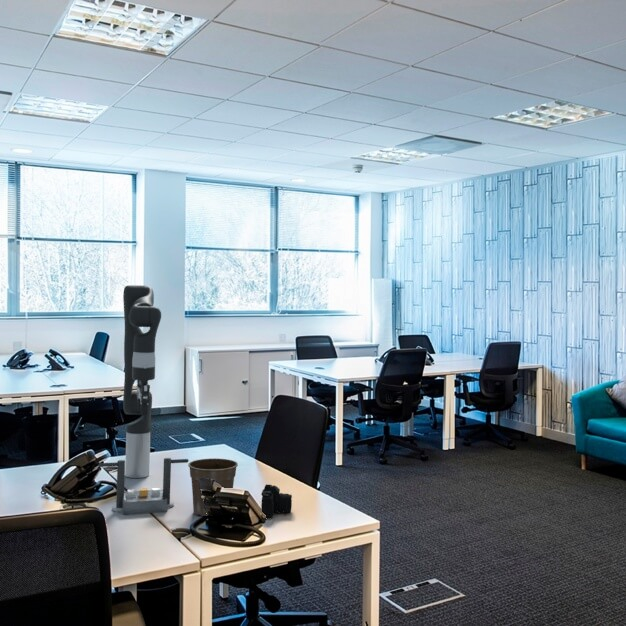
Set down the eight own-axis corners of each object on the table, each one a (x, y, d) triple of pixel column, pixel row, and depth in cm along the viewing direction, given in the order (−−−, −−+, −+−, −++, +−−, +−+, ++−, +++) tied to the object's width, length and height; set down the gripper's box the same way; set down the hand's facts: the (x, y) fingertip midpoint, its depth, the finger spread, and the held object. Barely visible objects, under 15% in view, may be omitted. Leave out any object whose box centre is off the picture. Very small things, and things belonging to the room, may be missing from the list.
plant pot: (182, 506, 226) (183, 459, 226) (229, 502, 232) (230, 456, 232) (192, 522, 211) (194, 471, 210) (242, 517, 217) (243, 467, 216)
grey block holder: (120, 503, 227) (120, 486, 226) (162, 500, 231) (162, 483, 231) (122, 514, 215) (123, 496, 215) (167, 511, 220) (167, 493, 220)
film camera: (288, 521, 215) (289, 493, 215) (258, 519, 216) (259, 491, 215) (292, 506, 230) (293, 480, 230) (264, 505, 231) (265, 479, 231)
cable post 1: (97, 508, 221) (98, 460, 220) (127, 506, 224) (128, 458, 224) (97, 513, 216) (99, 463, 216) (128, 511, 219) (129, 462, 219)
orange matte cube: (139, 494, 224) (139, 488, 224) (146, 494, 225) (147, 488, 225) (140, 496, 222) (140, 490, 222) (147, 496, 223) (147, 490, 223)
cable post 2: (157, 504, 227) (158, 457, 227) (186, 502, 231) (187, 456, 231) (159, 508, 223) (160, 460, 222) (188, 506, 226) (189, 459, 226)
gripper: (130, 362, 231) (129, 409, 232) (134, 368, 218) (133, 417, 219) (152, 362, 234) (151, 408, 235) (158, 367, 221) (156, 416, 222)
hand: (142, 412), depth 227 cm, fingers open, 8 cm apart
